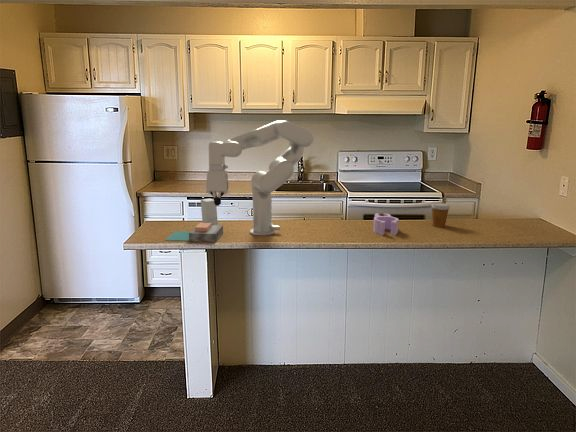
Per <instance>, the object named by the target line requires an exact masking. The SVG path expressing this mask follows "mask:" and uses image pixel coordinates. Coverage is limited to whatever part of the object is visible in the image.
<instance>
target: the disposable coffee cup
mask: <svg viewBox="0 0 576 432" xmlns="http://www.w3.org/2000/svg"><path fill="white" fill-rule="evenodd" d="M430 207H431V212H432V213H431V214H432V215H431V216H432V226H433V227H436V228H444V227H446V223H447V218H448V213H449V210H450V204H449V203H448V202H447V203H446V202H433V203H432V204H431V205H430Z"/></svg>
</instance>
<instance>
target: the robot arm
mask: <svg viewBox="0 0 576 432" xmlns="http://www.w3.org/2000/svg"><path fill="white" fill-rule="evenodd" d="M314 138H315V137H314V135H313V133H312V132H311V130H309V129H307V128H305V127H302V126H300V125H297V124H295V123H293V122H290V121H289V120H281V119H279V120H275V121H273V122H270V123H268V124H266V125H263V126H260V127H259V128H255V129H252V130H250V131H248V132H247V131H246V132H245V133H242V134H240V135H236V136H234V137H231V138H229V139H227V140H225V141H224V142H223V141H210V142H209V143H208V170H207V172H206V182H205V184H206V185H205V189H206V194H209V195H211V196H212V197H213V199H214V204H215V206H216V207H220V205H221V204H222V197H223V196H224V195H228V194H229V178H228V177H229V175H228V171H227V170H226V169H228V168H229V166H228V165H226V159H225V158H226V157H227V158H237V157H239V156H240V155H241V154H242V152H243V151H245V150H246V149H251V148H259V147H263V146H265V145H268V144H270V143H273V142H274V141H277V140H279V139H285V140H286V141H289V145H288V147H287V148H286V149H285V150H284V151H283V152H282V153H281V154H279V155H278V156H277V157H275V158H274V159H273V160H272V161H271V162H270V163H269V164H268V171H264V170H259V171H256V172H255V173H253V175H252V176H251V179H250V183H251V184H250V186H251V193H252V228H251V229H250V231H249V232H250V234H251V235H253V236H259V237H260V236H265V237H266V236H270V235H273V234H275V231H280V230H281V226H280V225H275V224H274V223H273V221H272V216H273V215H272V214H273V213H272V211H273V210H272V193H273V192H276V190H278V188H280V187H282V186H283V185H284V184H285V183H286V182H288V180H289V179H291V178H292V176H293V175H294V172H295V167H294V166H295V165H296V164H298V162H299V161H300V160H301V159H302V157H303V154H304V151H305V148H308V147H310V146H311V145H312V144H313V143H314V140H315V139H314ZM217 193H218V194H217Z"/></svg>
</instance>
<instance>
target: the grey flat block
mask: <svg viewBox="0 0 576 432" xmlns="http://www.w3.org/2000/svg"><path fill="white" fill-rule="evenodd" d="M189 232H190V233H189V241H188V242H206V243H207V242H208V243H211V242H213V243H216V242H217V241H218V240H219V239H220V237H221V236H222V235H223V234H224V225H220V224H218V225H212V227H211V228H210V229H209V230H208V231H207V232H203V231H195V227H194V228H193V229H191V231H189Z"/></svg>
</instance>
